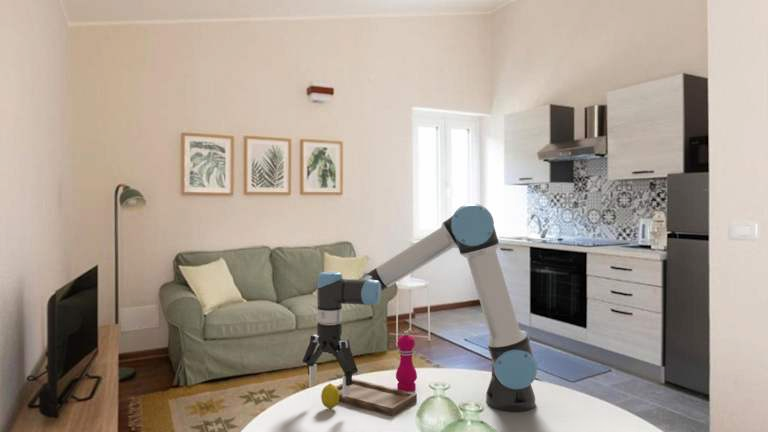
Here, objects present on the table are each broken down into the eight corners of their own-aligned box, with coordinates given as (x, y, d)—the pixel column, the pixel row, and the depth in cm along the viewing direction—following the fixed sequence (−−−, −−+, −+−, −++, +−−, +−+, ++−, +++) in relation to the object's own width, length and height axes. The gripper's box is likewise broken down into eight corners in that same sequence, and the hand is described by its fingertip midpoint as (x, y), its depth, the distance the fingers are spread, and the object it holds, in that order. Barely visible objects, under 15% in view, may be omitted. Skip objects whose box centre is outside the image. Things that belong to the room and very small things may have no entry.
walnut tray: (416, 401, 163) (416, 394, 163) (392, 416, 152) (392, 408, 151) (353, 385, 178) (352, 378, 178) (326, 398, 166) (326, 390, 166)
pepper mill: (417, 392, 171) (417, 333, 171) (395, 392, 171) (395, 333, 171) (416, 385, 178) (416, 328, 178) (395, 385, 178) (395, 328, 178)
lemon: (325, 414, 154) (325, 388, 154) (318, 407, 159) (318, 382, 159) (342, 410, 156) (342, 384, 156) (335, 404, 161) (335, 379, 161)
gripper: (291, 319, 161) (291, 385, 162) (353, 330, 147) (353, 403, 147) (308, 314, 167) (308, 379, 168) (369, 325, 153) (368, 395, 153)
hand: (329, 390), depth 157 cm, fingers open, 13 cm apart
